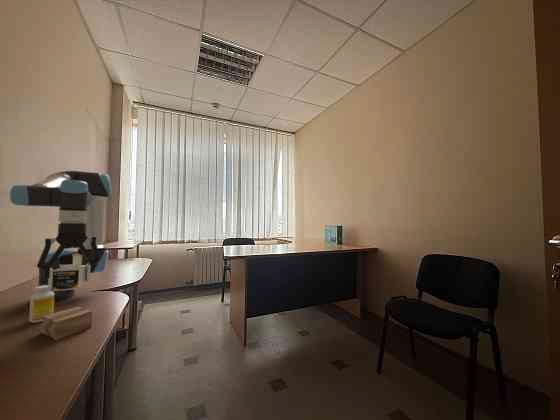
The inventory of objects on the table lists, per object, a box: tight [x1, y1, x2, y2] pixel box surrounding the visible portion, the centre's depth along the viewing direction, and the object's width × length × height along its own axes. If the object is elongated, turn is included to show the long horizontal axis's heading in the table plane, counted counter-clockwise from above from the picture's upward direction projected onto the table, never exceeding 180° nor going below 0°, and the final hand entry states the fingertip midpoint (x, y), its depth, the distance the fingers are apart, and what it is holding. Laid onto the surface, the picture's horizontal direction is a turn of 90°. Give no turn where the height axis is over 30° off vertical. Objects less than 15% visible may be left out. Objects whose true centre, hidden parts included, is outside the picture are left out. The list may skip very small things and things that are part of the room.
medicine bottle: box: [52, 254, 87, 291], centre depth 82 cm, size 7×7×12 cm
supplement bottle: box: [28, 285, 55, 324], centre depth 89 cm, size 7×7×13 cm
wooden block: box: [41, 305, 93, 341], centre depth 81 cm, size 10×10×6 cm
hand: (69, 284), depth 82 cm, fingers closed on medicine bottle, 9 cm apart
